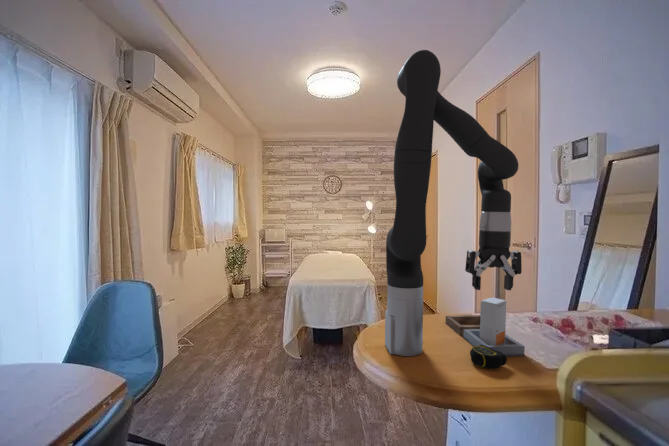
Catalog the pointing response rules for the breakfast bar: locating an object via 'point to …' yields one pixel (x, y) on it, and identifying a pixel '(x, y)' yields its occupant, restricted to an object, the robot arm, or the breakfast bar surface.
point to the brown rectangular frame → (463, 322)
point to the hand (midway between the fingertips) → (492, 289)
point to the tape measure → (487, 357)
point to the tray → (507, 349)
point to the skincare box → (493, 321)
